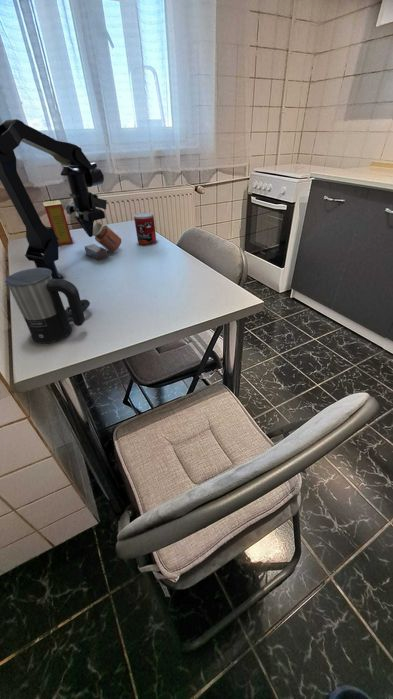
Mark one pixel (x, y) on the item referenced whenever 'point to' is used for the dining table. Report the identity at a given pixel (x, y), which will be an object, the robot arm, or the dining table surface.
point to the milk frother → (46, 303)
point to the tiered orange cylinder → (106, 237)
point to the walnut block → (96, 251)
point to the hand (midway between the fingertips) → (90, 236)
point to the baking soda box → (58, 221)
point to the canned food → (145, 228)
